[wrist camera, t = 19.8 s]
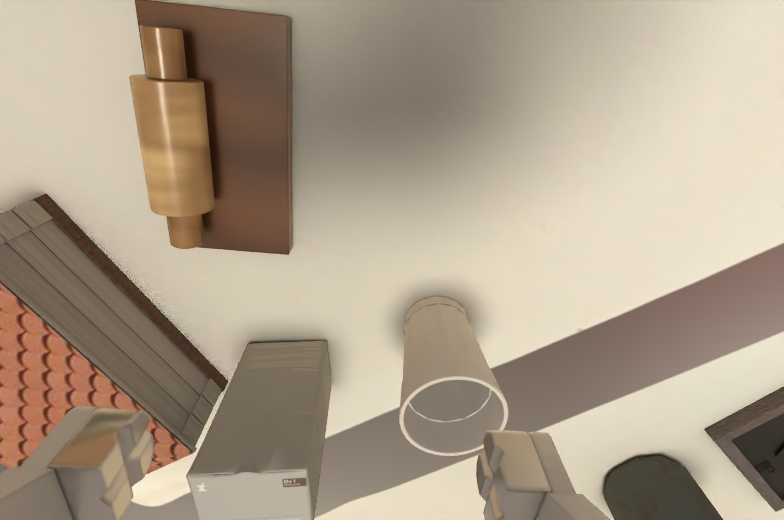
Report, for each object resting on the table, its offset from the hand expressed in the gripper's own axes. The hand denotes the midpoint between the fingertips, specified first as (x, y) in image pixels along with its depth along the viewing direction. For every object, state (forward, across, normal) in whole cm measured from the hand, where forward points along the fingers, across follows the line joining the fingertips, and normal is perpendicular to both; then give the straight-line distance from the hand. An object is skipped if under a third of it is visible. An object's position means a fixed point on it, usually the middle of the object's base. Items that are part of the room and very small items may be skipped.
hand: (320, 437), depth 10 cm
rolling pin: (+25, +12, -1) cm, 28 cm away
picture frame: (+27, -52, +28) cm, 65 cm away
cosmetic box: (+27, +6, +21) cm, 35 cm away
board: (+27, +11, -1) cm, 29 cm away
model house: (+27, +26, +19) cm, 42 cm away
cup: (+27, -8, +15) cm, 32 cm away
